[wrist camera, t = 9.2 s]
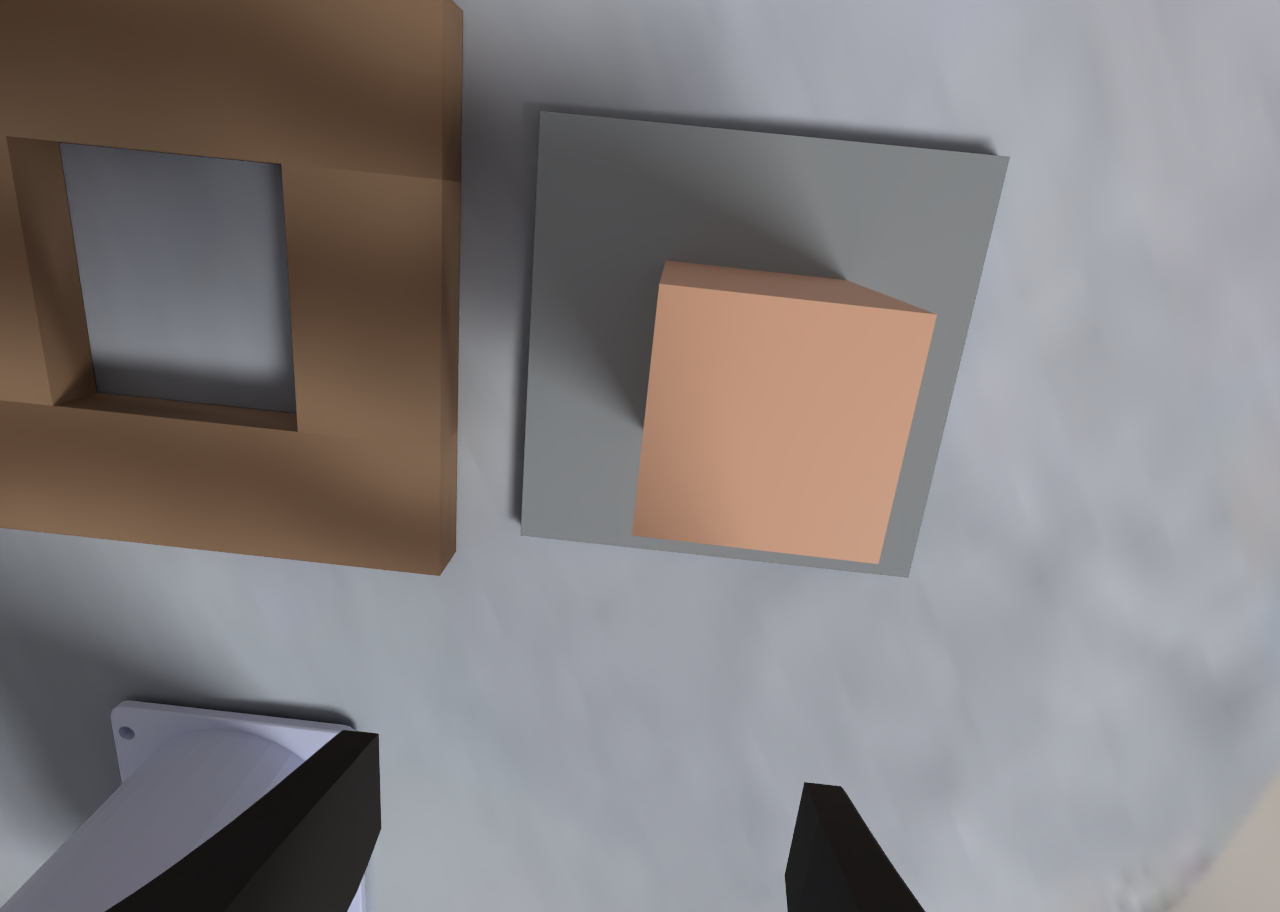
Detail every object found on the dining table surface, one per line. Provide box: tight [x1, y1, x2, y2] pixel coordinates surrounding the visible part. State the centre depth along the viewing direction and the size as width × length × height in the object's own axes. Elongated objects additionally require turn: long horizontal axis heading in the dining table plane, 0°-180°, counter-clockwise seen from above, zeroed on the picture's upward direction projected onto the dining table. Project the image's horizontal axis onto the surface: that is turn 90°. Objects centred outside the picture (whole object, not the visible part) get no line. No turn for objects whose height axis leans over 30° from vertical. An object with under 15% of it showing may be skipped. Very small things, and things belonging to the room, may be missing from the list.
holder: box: [0, 0, 463, 576], centre depth 18 cm, size 14×14×2 cm
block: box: [632, 260, 937, 564], centre depth 15 cm, size 4×4×6 cm
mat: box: [521, 111, 1010, 577], centre depth 19 cm, size 11×11×1 cm
